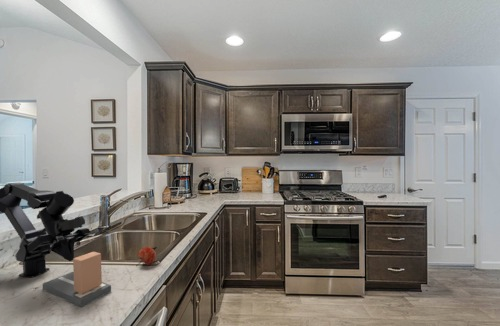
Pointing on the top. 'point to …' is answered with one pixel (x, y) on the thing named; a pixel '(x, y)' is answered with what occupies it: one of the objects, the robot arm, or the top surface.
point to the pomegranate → (147, 255)
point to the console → (65, 290)
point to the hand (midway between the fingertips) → (71, 260)
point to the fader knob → (87, 272)
